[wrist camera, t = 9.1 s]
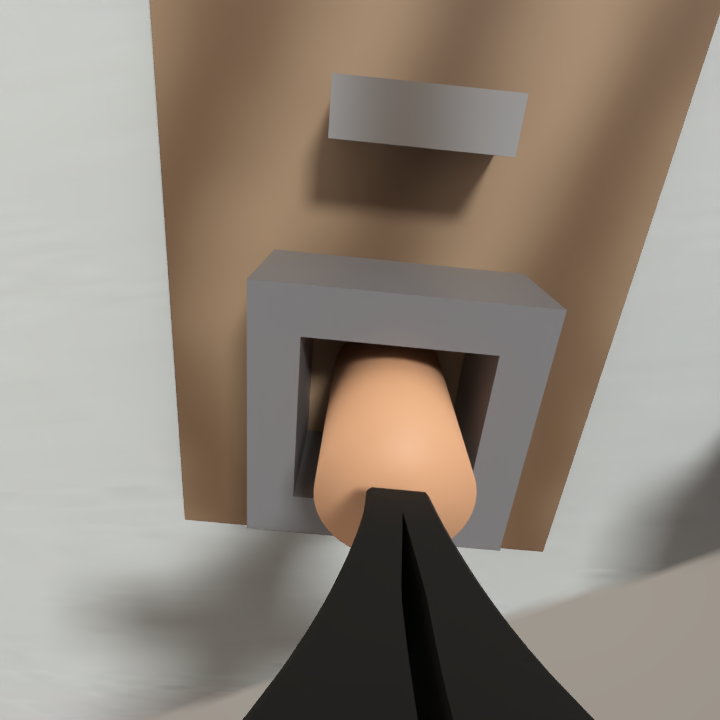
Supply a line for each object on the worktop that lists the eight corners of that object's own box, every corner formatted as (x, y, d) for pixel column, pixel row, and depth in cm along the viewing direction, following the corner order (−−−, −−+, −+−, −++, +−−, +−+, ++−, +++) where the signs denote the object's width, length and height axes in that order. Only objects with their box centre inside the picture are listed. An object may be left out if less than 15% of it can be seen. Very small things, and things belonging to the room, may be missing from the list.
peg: (448, 329, 18) (491, 435, 11) (431, 423, 19) (460, 564, 13) (338, 318, 17) (318, 419, 11) (330, 414, 19) (309, 549, 13)
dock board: (787, -261, 12) (936, -408, 9) (536, 535, 23) (563, 599, 19) (143, -337, 12) (57, -516, 9) (192, 504, 22) (162, 564, 19)
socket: (524, 273, 17) (567, 310, 13) (476, 476, 20) (499, 550, 16) (274, 249, 17) (246, 278, 13) (269, 458, 20) (247, 528, 16)
